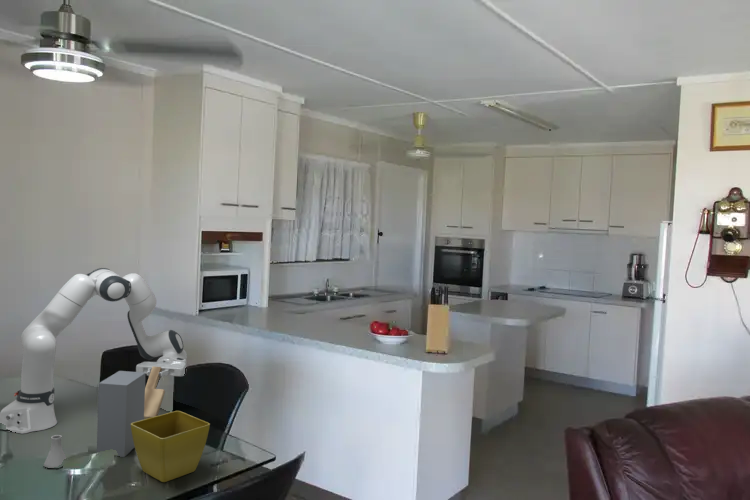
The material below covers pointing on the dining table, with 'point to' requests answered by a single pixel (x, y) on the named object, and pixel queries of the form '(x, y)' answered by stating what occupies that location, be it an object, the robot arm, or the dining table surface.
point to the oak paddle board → (153, 394)
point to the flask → (55, 453)
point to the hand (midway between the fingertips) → (154, 374)
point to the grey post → (119, 410)
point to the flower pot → (169, 444)
